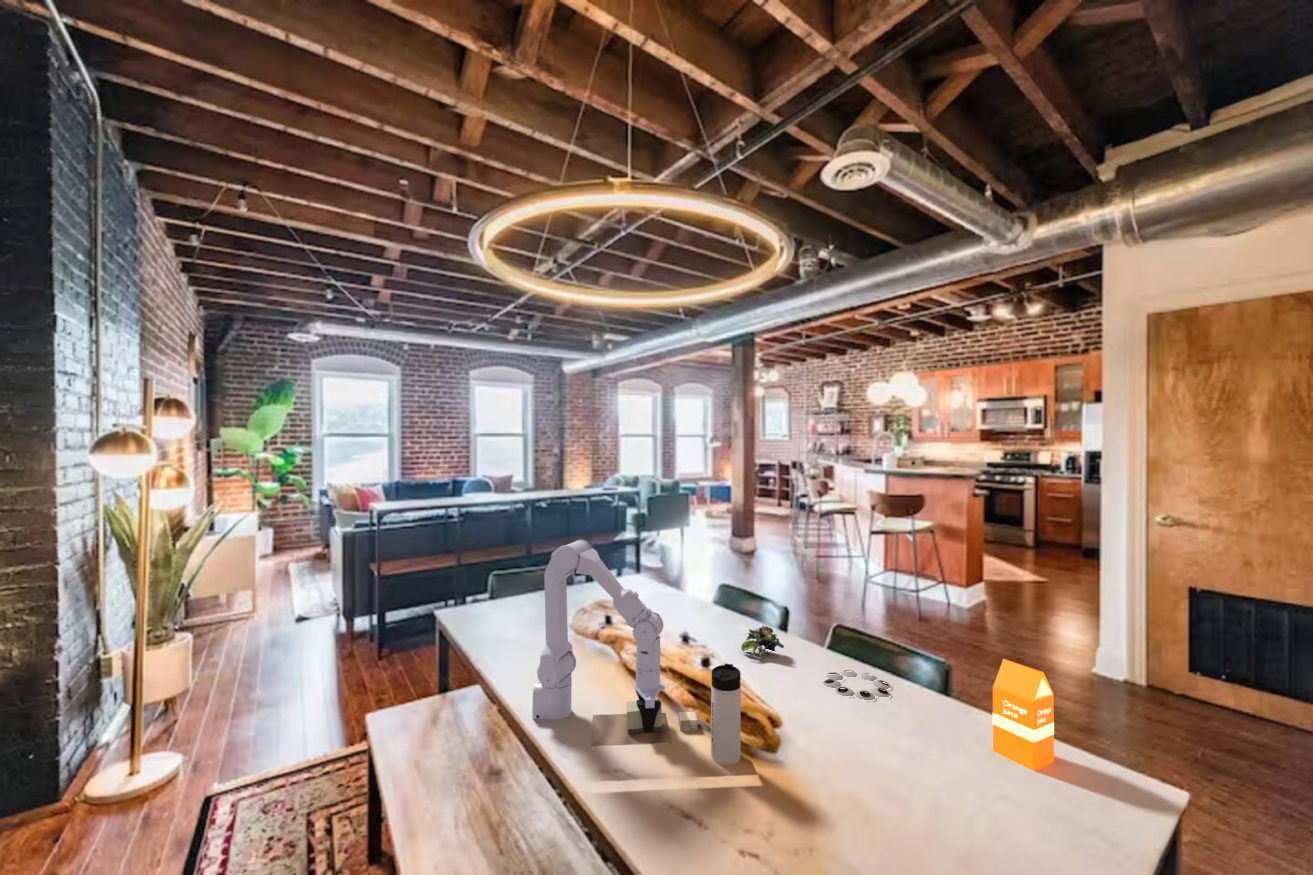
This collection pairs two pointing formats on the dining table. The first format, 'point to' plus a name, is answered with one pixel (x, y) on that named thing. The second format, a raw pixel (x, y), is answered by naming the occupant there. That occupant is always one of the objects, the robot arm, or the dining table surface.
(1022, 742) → the orange juice
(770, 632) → the passion flower
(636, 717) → the block
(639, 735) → the walnut board
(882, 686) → the silver black segmented ring
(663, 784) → the dining table surface
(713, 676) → the travel mug
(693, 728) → the birch offcut
